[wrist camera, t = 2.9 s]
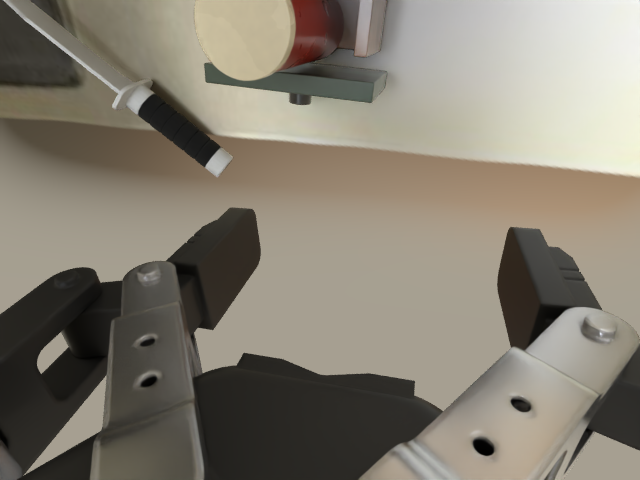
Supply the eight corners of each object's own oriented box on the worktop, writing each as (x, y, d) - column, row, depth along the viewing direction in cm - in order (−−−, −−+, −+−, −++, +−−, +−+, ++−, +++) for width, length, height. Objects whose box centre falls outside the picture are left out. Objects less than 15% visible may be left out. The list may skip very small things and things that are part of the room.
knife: (240, 149, 38) (223, 167, 33) (227, 166, 39) (209, 187, 35) (-19, -64, 31) (-82, -75, 27) (-26, -35, 32) (-87, -41, 28)
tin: (269, 14, 28) (174, 8, 18) (322, -32, 26) (247, -68, 16) (304, 74, 29) (235, 100, 19) (357, 36, 27) (310, 42, 17)
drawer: (382, 104, 30) (369, 122, 24) (247, 87, 32) (206, 101, 26) (405, -49, 25) (395, -71, 19) (244, -57, 27) (193, -79, 22)
